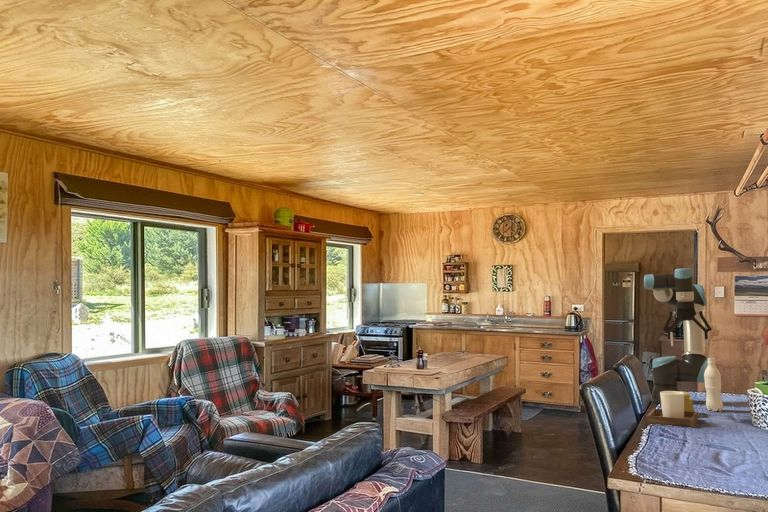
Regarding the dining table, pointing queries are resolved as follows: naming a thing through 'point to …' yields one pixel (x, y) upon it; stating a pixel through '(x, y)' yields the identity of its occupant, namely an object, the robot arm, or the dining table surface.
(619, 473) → the dining table surface
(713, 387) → the water bottle
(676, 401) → the cream cup
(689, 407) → the cheese
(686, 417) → the walnut crate
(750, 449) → the dining table surface
